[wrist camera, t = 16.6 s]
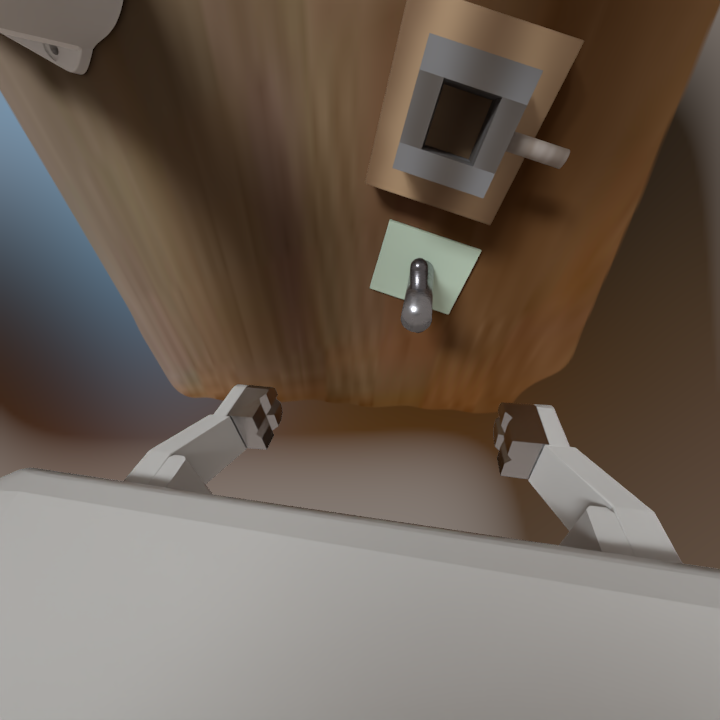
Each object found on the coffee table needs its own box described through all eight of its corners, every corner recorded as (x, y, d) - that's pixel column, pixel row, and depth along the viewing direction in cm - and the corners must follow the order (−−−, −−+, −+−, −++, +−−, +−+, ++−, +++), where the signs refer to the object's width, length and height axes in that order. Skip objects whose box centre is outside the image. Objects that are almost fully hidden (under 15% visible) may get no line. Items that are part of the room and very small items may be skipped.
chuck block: (370, 178, 30) (352, 193, 24) (413, -4, 23) (403, -49, 16) (506, 223, 30) (522, 250, 24) (596, 56, 22) (653, 34, 16)
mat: (370, 286, 37) (369, 288, 37) (390, 219, 32) (389, 220, 32) (448, 313, 37) (448, 314, 37) (481, 249, 32) (481, 250, 32)
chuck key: (409, 236, 32) (399, 277, 24) (435, 235, 32) (433, 276, 24) (410, 302, 37) (401, 354, 29) (432, 302, 36) (430, 355, 28)
